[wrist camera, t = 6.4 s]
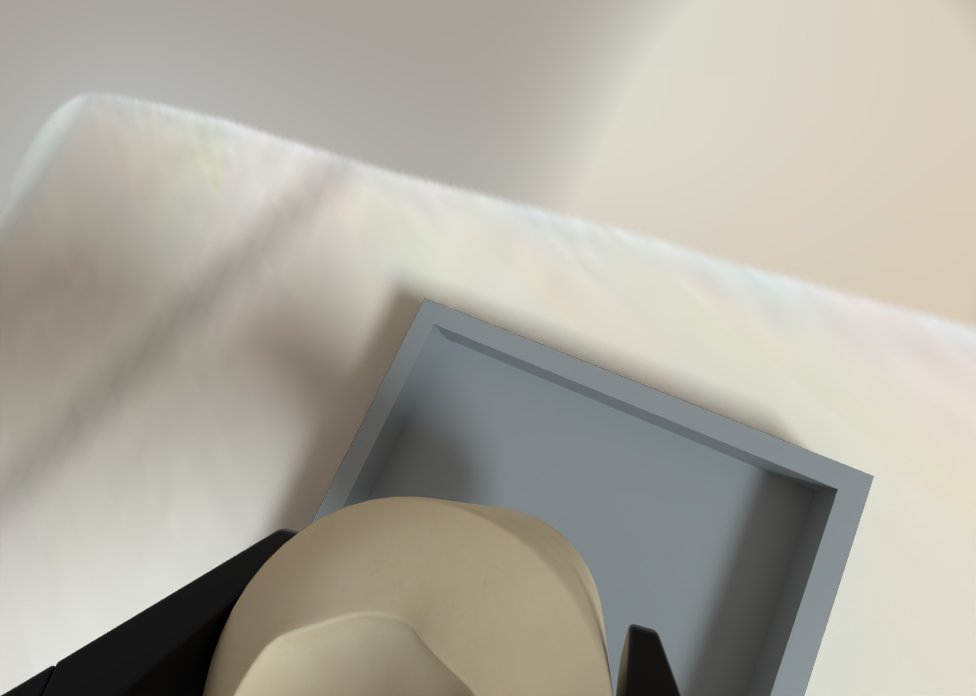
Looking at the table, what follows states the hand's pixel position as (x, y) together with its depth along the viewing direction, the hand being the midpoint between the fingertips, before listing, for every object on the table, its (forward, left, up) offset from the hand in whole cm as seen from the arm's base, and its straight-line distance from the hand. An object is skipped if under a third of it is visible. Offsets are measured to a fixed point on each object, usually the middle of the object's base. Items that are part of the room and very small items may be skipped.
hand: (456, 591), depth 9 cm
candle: (-1, 0, -7) cm, 7 cm away
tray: (-1, -1, -12) cm, 12 cm away
